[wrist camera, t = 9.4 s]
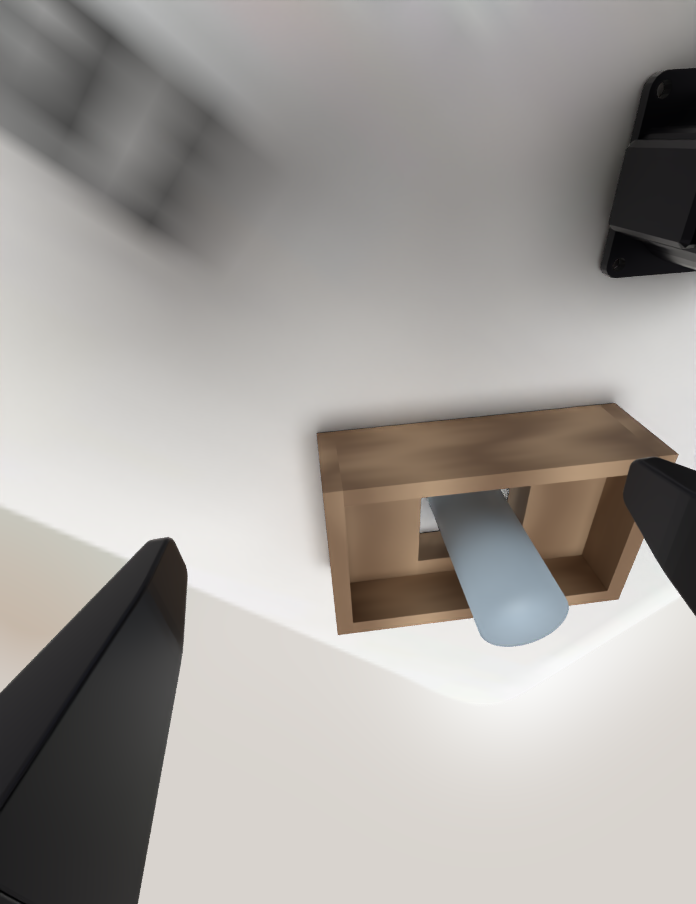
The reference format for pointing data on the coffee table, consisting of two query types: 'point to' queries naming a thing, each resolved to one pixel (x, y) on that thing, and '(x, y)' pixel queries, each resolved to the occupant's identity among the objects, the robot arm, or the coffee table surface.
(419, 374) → the coffee table surface
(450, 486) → the caddy
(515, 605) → the peg
